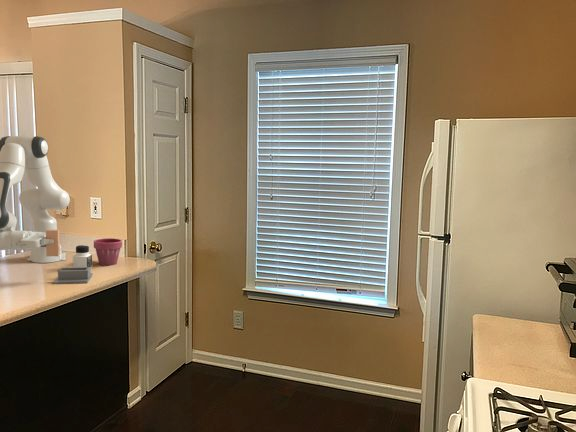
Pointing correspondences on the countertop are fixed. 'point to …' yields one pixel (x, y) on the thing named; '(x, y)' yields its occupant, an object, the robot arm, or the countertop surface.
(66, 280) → the rack
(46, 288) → the countertop surface
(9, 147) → the robot arm
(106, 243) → the plant pot
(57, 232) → the tall tan pillar block
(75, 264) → the medicine bottle
